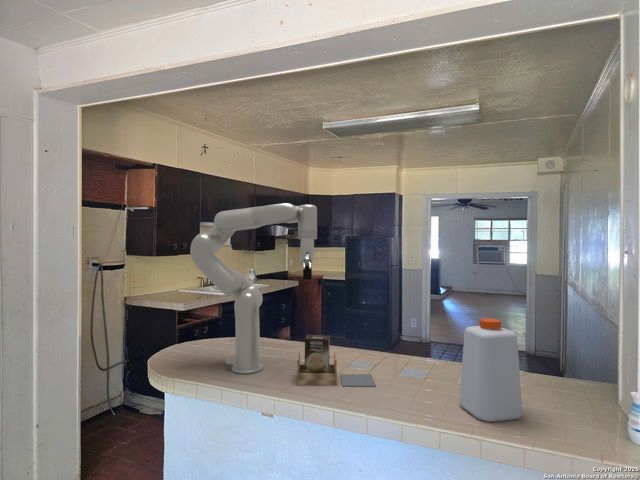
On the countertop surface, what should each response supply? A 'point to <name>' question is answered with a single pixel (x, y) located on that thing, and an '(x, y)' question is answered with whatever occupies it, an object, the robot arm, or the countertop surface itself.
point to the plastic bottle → (490, 372)
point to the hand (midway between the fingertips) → (307, 278)
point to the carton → (317, 375)
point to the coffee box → (317, 354)
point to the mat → (357, 380)
